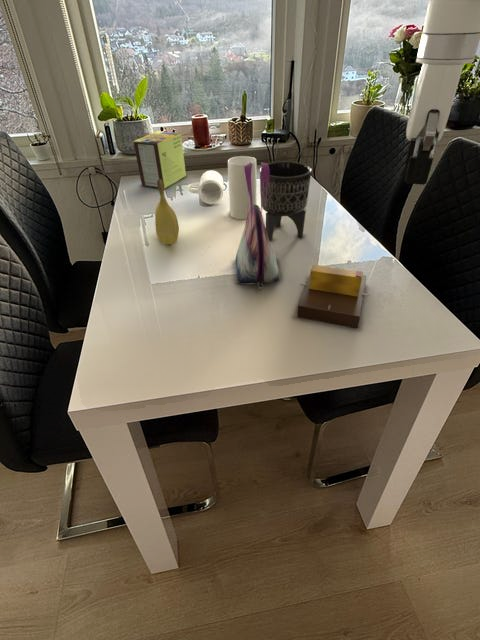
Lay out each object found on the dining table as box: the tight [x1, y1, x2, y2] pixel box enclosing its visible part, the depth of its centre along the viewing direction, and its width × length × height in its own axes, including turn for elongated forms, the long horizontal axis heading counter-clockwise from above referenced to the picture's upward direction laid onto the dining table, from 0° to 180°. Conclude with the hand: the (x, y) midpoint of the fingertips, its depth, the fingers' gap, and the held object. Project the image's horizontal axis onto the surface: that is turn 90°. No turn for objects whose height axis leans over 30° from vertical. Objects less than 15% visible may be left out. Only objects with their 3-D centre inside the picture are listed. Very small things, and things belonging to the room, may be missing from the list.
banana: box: [154, 179, 180, 245], centre depth 97 cm, size 23×6×20 cm, turn 15°
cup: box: [227, 155, 258, 220], centre depth 111 cm, size 8×8×16 cm
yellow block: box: [309, 264, 364, 297], centre depth 76 cm, size 10×2×5 cm, turn 71°
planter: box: [259, 160, 312, 241], centre depth 99 cm, size 13×13×18 cm
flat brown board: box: [296, 268, 370, 329], centre depth 79 cm, size 15×14×3 cm
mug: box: [186, 169, 224, 206], centre depth 124 cm, size 12×10×8 cm
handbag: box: [235, 161, 281, 291], centre depth 82 cm, size 21×10×25 cm, turn 3°
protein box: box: [132, 130, 187, 189], centre depth 137 cm, size 10×15×16 cm
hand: (414, 173), depth 63 cm, fingers open, 9 cm apart
